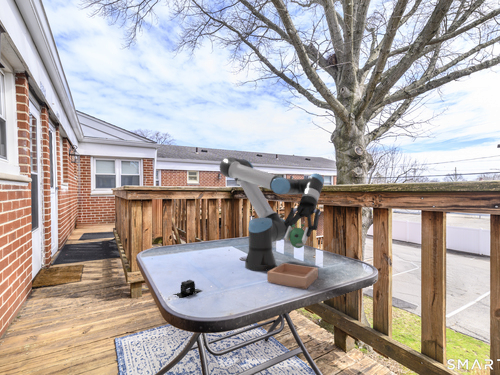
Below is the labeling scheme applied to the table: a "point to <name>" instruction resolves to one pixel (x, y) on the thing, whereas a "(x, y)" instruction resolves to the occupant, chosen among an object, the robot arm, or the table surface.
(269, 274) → the planter tray
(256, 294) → the table surface
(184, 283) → the black box
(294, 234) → the alien toy
